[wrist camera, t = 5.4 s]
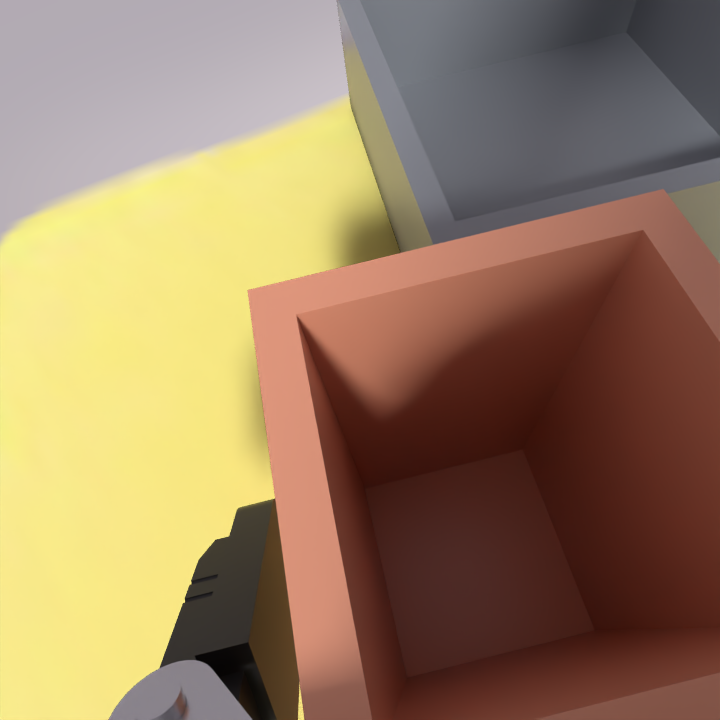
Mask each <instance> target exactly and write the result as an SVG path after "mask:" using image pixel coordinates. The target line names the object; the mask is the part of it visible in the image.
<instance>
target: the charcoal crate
mask: <svg viewBox="0 0 720 720" xmlns="http://www.w3.org/2000/svg"><path fill="white" fill-rule="evenodd" d="M337 6H338V13H339V21H340V29H341V36H342V44H343V51H344V58H345V66H346V73H347V81H348V88H349V96H350V103H351V109H352V112H353V114H354V117H355V120H356V123H357V126H358V129H359V132H360V135H361V138H362V141H363V144H364V147H365V150H366V153H367V156H368V158H369V161H370V164H371V167H372V170H373V173H374V176H375V179H376V182H377V185H378V188H379V191H380V194H381V197H382V200H383V202H384V205H385V208H386V211H387V214H388V217H389V220H390V223H391V226H392V229H393V232H394V235H395V238H396V241H397V243H398V246H399V249H400V252H401V253H402V252H407V251H411V250H415V249H419V248H423V247H427V246H431V245H435V244H439V243H444V242H448V241H452V240H456V239H460V238H464V237H468V236H472V235H476V234H480V233H485V232H489V231H493V230H497V229H501V228H505V227H509V226H513V225H517V224H522V223H526V222H530V221H534V220H538V219H542V218H546V217H550V216H554V215H559V214H563V213H567V212H571V211H575V210H579V209H583V208H587V207H591V206H595V205H600V204H604V203H608V202H612V201H616V200H620V199H624V198H628V197H632V196H637V195H641V194H645V193H649V192H653V191H657V190H661V189H664V190H665V191H666V193H667V194H668V195H669V197H670V198H671V199H672V201H673V202H674V203H675V205H676V206H677V207H678V209H679V210H680V211H681V213H682V214H683V215H684V217H685V218H686V219H687V221H688V222H689V223H690V225H691V226H692V227H693V229H694V230H695V231H696V233H697V234H698V235H699V237H700V238H701V239H702V241H703V242H704V243H705V245H706V246H707V247H708V249H709V250H710V251H711V253H712V254H713V255H714V257H715V258H716V259H717V261H718V262H719V263H720V0H337Z"/></svg>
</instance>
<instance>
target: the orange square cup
mask: <svg viewBox="0 0 720 720" xmlns="http://www.w3.org/2000/svg"><path fill="white" fill-rule="evenodd" d="M248 297H249V304H250V312H251V320H252V327H253V335H254V342H255V350H256V357H257V365H258V372H259V380H260V387H261V395H262V402H263V410H264V417H265V425H266V432H267V440H268V448H269V455H270V463H271V470H272V478H273V485H274V493H275V500H276V508H277V515H278V523H279V530H280V538H281V545H282V553H283V560H284V568H285V576H286V583H287V591H288V598H289V606H290V613H291V621H292V628H293V636H294V643H295V651H296V658H297V666H298V673H299V681H300V688H301V696H302V704H303V711H304V719H305V720H720V263H719V262H718V261H717V259H716V258H715V257H714V255H713V254H712V253H711V251H710V250H709V249H708V247H707V246H706V245H705V243H704V242H703V241H702V239H701V238H700V237H699V235H698V234H697V233H696V231H695V230H694V229H693V227H692V226H691V225H690V223H689V222H688V221H687V219H686V218H685V217H684V215H683V214H682V213H681V211H680V210H679V209H678V207H677V206H676V205H675V203H674V202H673V201H672V199H671V198H670V197H669V195H668V194H667V193H666V191H665V190H664V189H661V190H657V191H653V192H649V193H645V194H641V195H637V196H632V197H628V198H624V199H620V200H616V201H612V202H608V203H604V204H600V205H595V206H591V207H587V208H583V209H579V210H575V211H571V212H567V213H563V214H559V215H554V216H550V217H546V218H542V219H538V220H534V221H530V222H526V223H522V224H517V225H513V226H509V227H505V228H501V229H497V230H493V231H489V232H485V233H480V234H476V235H472V236H468V237H464V238H460V239H456V240H452V241H448V242H444V243H439V244H435V245H431V246H427V247H423V248H419V249H415V250H411V251H407V252H402V253H398V254H394V255H390V256H386V257H382V258H378V259H374V260H370V261H365V262H361V263H357V264H353V265H349V266H345V267H341V268H337V269H333V270H329V271H324V272H320V273H316V274H312V275H308V276H304V277H300V278H296V279H292V280H287V281H283V282H279V283H275V284H271V285H267V286H263V287H259V288H255V289H250V290H248Z"/></svg>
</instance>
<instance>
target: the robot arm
mask: <svg viewBox="0 0 720 720" xmlns="http://www.w3.org/2000/svg"><path fill="white" fill-rule="evenodd" d="M191 582H192V585H189V588H188V591H187V594H186V597H185V603H183V605H182V608H181V610H180V613H179V616H178V619H177V621H176V624H175V627H174V630H173V632H172V635H171V638H170V641H169V643H168V646H167V649H166V652H165V654H164V657H163V660H162V663H161V665H160V668H159V669H158V670H156V671H154V672H152V673H151V674H149V675H148V676H146V677H145V678H143V679H142V680H141V681H140V682H139V683H137V684H136V685H135V686H134V687H133V688H132V689H131V690H130V691H129V692H128V693H127V694H126V695H125V696H124V697H123V698H122V700H121V701H120V702H119V704H118V705H117V706H116V708H115V709H114V711H113V713H112V714H111V716H110V718H109V720H298V702H299V673H298V666H297V658H296V651H295V643H294V636H293V628H292V621H291V613H290V606H289V598H288V591H287V583H286V576H285V568H284V560H283V553H282V545H281V538H280V530H279V523H278V515H277V508H276V500H275V499H272V500H268V501H264V502H260V503H256V504H252V505H248V506H244V507H240V508H238V509H237V512H236V515H235V519H234V522H233V526H232V529H231V532H230V536H229V537H225V538H221V539H217V540H215V541H214V542H213V544H212V545H211V546H210V547H209V548H208V550H207V551H206V552H205V553H204V554H203V556H202V557H201V558H200V559H199V561H198V563H197V566H196V569H195V572H194V574H193V577H192V580H191Z"/></svg>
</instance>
